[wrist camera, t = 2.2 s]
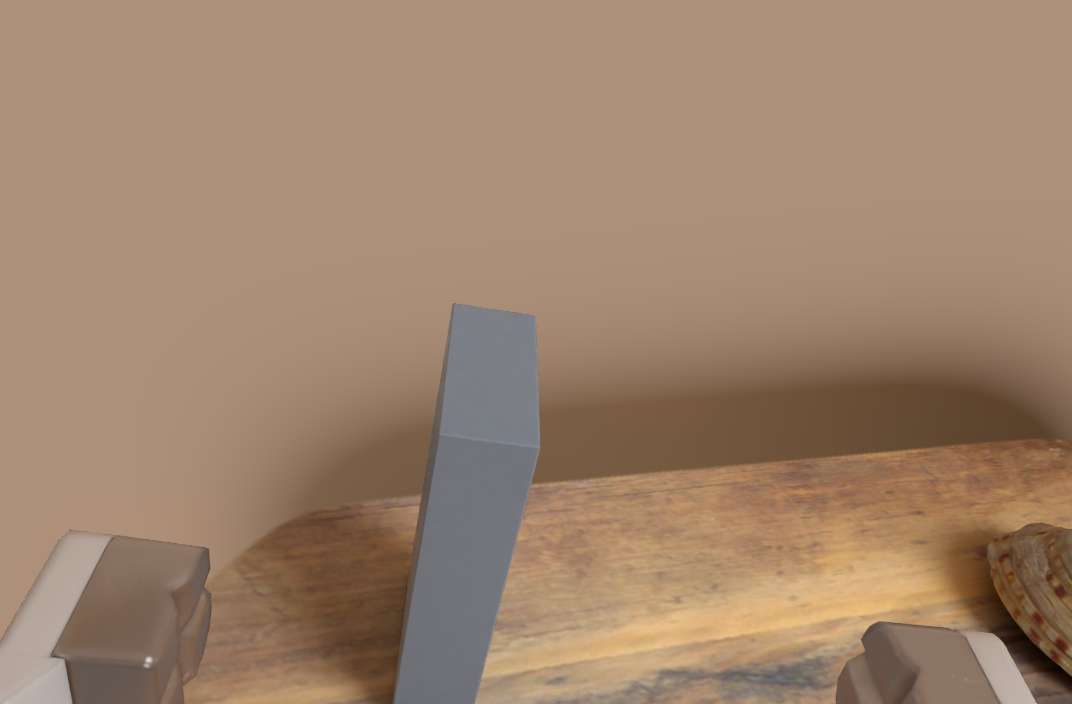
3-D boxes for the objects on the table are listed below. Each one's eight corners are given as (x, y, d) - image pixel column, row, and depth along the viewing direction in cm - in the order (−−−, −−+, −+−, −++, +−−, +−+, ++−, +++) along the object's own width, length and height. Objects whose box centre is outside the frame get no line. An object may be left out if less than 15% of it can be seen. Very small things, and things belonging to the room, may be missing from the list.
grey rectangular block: (390, 721, 28) (438, 433, 21) (409, 570, 33) (453, 299, 26) (468, 729, 28) (540, 447, 21) (475, 578, 33) (536, 312, 26)
